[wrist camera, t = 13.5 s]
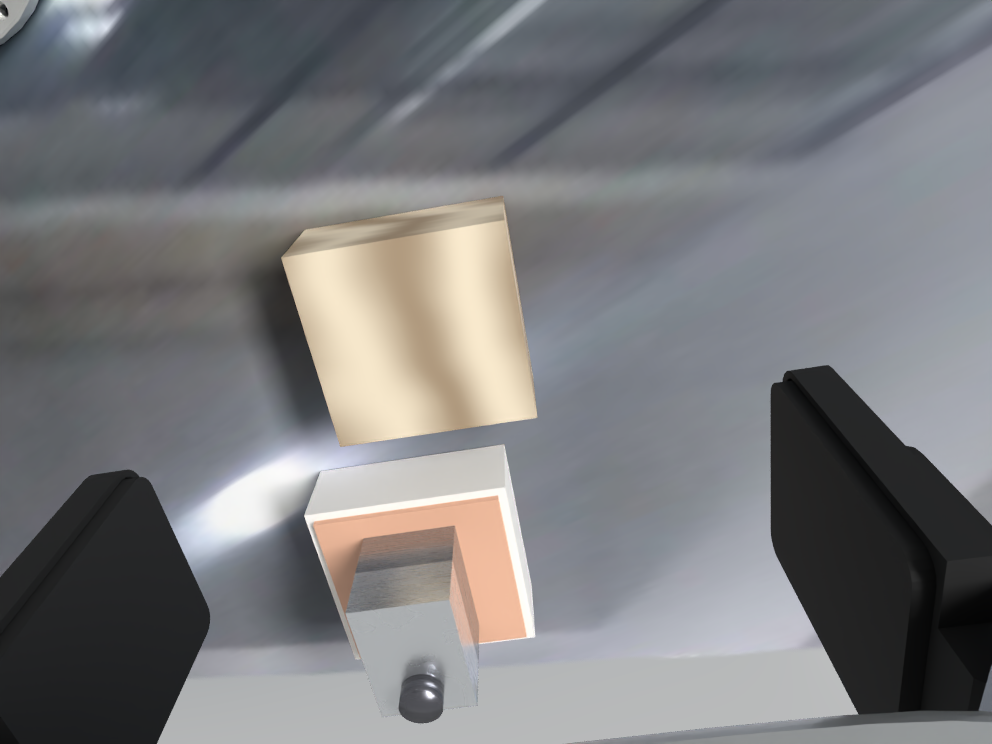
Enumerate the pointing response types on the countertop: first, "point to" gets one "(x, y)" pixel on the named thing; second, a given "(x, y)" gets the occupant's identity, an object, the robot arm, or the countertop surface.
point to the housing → (416, 623)
